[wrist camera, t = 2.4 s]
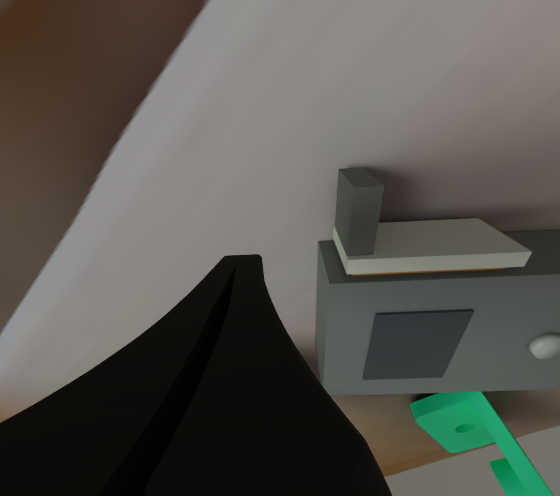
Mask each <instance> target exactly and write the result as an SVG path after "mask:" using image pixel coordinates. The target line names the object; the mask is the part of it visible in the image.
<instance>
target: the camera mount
mask: <svg viewBox="0 0 560 496" xmlns="http://www.w3.org/2000/svg"><path fill="white" fill-rule="evenodd" d="M410 409H411V411H412V414H413V416H414V419H415V421H416V423H417V424H418V425H420V426H421V427H422V428H423V429H424V430H425V431H426V432H427V433H428V434H429V435H431V436H432V437H433V438H434V439H435V440H436V441H437V442H438V443H439V444H440V445H442V446H443V447H444V448H445V449H446V450H447V451H448V452H450V453H457V452H461V451H465V450H469V449H472V448H476V447H480V446H483V445H487V444H491V443H494V442H496V444H497V445H498V447H499V448H500V450H501V451H502V453H503V454H504V456H505V457H506V458H503V459H499V460H495V461H491V462H489V463H490V465H491V468H492V470H493V472H494V474H495V476H496V478H497V479H498V481H499V483H500V485H501V486H502V488H503V490H504V492H505V493H506V495H507V496H554V495H553V494H552V493H551V491H550V490H549V488H548V487H547V485H546V484H545V482H544V481H543V479H542V478H541V476H540V475H539V473H538V472H537V471H536V469H535V467H534V466H533V464H532V463H531V461H530V460H529V458H528V457H527V456H526V454H525V453H524V451H523V450H522V449H521V447H520V445H519V444H518V442H517V441H516V439H515V438H514V436H513V435H512V433H511V432H510V430H509V429H508V428H507V426H506V425H505V423H504V422H503V420H502V419H501V418H500V416H499V415H498V414H497V412H496V411H495V409H494V408H493V406H492V405H491V403H490V402H489V401H488V399H487V398H486V397H485V395H484V394H483V392H482V391H481V392H448V393H437V394H435V395H432V396H429V397H426V398H424V399H421V400H418V401H415V402H413V403H412V404H411V405H410Z"/></svg>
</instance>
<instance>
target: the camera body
mask: <svg viewBox="0 0 560 496" xmlns="http://www.w3.org/2000/svg"><path fill="white" fill-rule="evenodd" d="M503 234H505V235H506V236H508V237H509V238H511V239H513V240H514V241H516V242H517V243H519V244H521V245H522V246H524V247H525V248H527V249H529V250H530V251H532V253H531V255H530V257H529V259H528V260H527V262H526V264H525V266H524V267H504V268H481V269H458V270H435V271H412V272H389V273H366V274H347V273H346V271H345V268H344V265H343V263H342V260H341V257H340V255H339V252H338V249H337V247H336V244H335V241H318V270H317V304H316V338H315V347H316V354H317V361H318V368H319V375H320V382H321V385H322V386H323V387H324V389H325V390H326V391H327V393H328V394H329V395H330V396H351V395H383V394H416V393H448V392H481V391H513V390H546V389H560V230H547V231H526V232H505V233H503Z"/></svg>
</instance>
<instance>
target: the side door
mask: <svg viewBox="0 0 560 496" xmlns="http://www.w3.org/2000/svg"><path fill="white" fill-rule="evenodd" d="M384 187H385V186H384V185H383V184H382V183H381V182H379V181H378V180H377V179H376V178H375V177H374V176H373V175H371V174H370V173H369V172H368V171H367V170H366V169H364V168H349V169H339V173H338V188H337V203H336V218H335V225H334V230H333V239H334V241H335V244H336V247H337V249H338V252H339V255H340V257H341V260H342V263H343V265H344V268H345V271H346V273H347V274H366V273H389V272H412V271H435V270H458V269H481V268H504V267H524V266H525V264H526V262H527V260H528V259H529V257H530V255H531V253H532V251H530V250H529V249H527V248H525V247H524V246H522V245H521V244H519V243H517V242H516V241H514V240H513V239H511V238H509V237H508V236H506V235H505V234H503V233H501V232H500V231H498V230H496V229H495V228H493V227H492V226H490V225H488V224H487V223H485V222H484V221H482V220H480V219H479V218H469V219H448V220H428V221H407V222H387V223H379V217H380V211H381V205H382V199H383V193H384Z"/></svg>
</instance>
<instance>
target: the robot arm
mask: <svg viewBox="0 0 560 496" xmlns="http://www.w3.org/2000/svg"><path fill="white" fill-rule="evenodd" d="M0 496H392V494H391V492H390V489H389V487H388V485H387V483H386V481H385V479H384V476H383V474H382V472H381V470H380V468H379V466H378V464H377V462H376V460H375V458H374V456H373V454H372V452H371V450H370V448H369V446H368V444H367V442H366V440H365V439H364V438H363V436H362V435H361V434H360V433H359V431H358V430H357V429H356V428H355V427H354V425H353V424H352V423H351V422H350V421H349V419H348V418H347V417H346V416H345V414H344V413H343V412H342V411H341V409H340V408H339V407H338V406H337V404H336V403H335V402H334V401H333V399H332V398H331V397H330V395H329V394H328V393H327V391H326V390H325V389H324V387H323V386H322V385H321V383H320V382H319V381H318V379H317V378H316V377H315V375H314V374H313V372H312V371H311V369H310V368H309V366H308V365H307V363H306V362H305V360H304V359H303V357H302V356H301V354H300V353H299V351H298V350H297V348H296V347H295V345H294V343H293V342H292V340H291V338H290V336H289V335H288V333H287V331H286V329H285V328H284V326H283V324H282V322H281V320H280V318H279V316H278V314H277V312H276V310H275V307H274V305H273V303H272V301H271V298H270V296H269V293H268V290H267V287H266V284H265V281H264V273H263V264H262V257H261V256H260V255H259V254H254V255H232V256H224V257H223V258H222V259H221V260H220V261H219V263H218V264H217V265H216V266H215V267H214V268H213V269H212V270H211V271H210V272H209V273H208V274H207V275H206V276H205V278H204V279H203V280H202V281H201V282H200V283H199V284H198V285H197V286H196V287H195V288H194V289H193V290H192V291H191V292H190V293H189V294H188V295H187V296H186V297H184V298H183V299H182V300H181V301H180V302H179V303H178V304H177V305H176V306H175V307H174V308H173V309H172V310H171V311H169V312H168V313H167V314H166V315H165V316H164V317H162V318H161V319H160V320H159V321H158V322H156V323H155V324H154V325H153V326H151V327H150V328H149V329H147V330H146V331H145V332H144V333H142V334H141V335H140V336H139V337H137V338H136V339H134V340H133V341H132V342H130V343H129V344H127V345H126V346H125V347H123V348H122V349H120V350H119V351H117V352H116V353H115V354H113V355H112V356H110V357H109V358H107V359H106V360H104V361H103V362H102V363H100V364H99V365H97V366H96V367H94V368H93V369H91V370H90V371H88V372H86V373H85V374H83V375H82V376H80V377H78V378H77V379H75V380H74V381H72V382H71V383H69V384H67V385H66V386H64V387H62V388H61V389H59V390H57V391H56V392H54V393H52V394H51V395H49V396H47V397H46V398H44V399H42V400H41V401H39V402H37V403H35V404H34V405H32V406H30V407H29V408H27V409H25V410H23V411H21V412H20V413H18V414H16V415H14V416H12V417H11V418H9V419H7V420H5V421H3V422H1V423H0Z"/></svg>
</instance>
